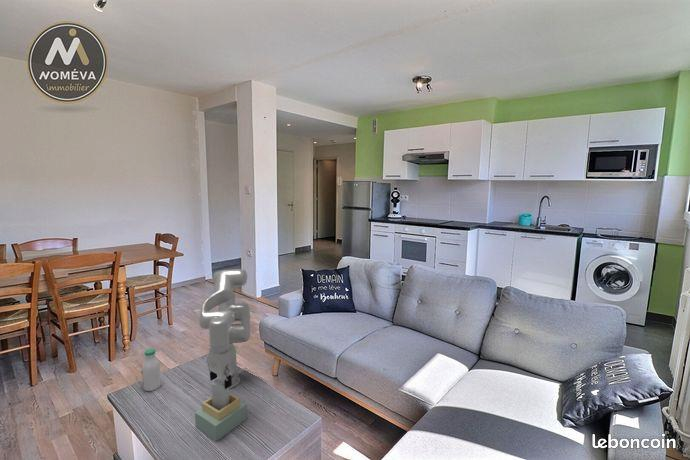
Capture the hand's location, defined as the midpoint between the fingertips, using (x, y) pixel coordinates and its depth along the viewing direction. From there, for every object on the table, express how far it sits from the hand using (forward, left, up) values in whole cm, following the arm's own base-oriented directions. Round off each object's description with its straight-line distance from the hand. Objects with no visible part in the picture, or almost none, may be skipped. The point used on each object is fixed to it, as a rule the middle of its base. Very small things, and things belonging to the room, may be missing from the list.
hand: (220, 382), depth 140 cm
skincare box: (0, 0, -12) cm, 12 cm away
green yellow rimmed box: (0, 0, -19) cm, 19 cm away
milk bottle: (+4, -50, -19) cm, 53 cm away
